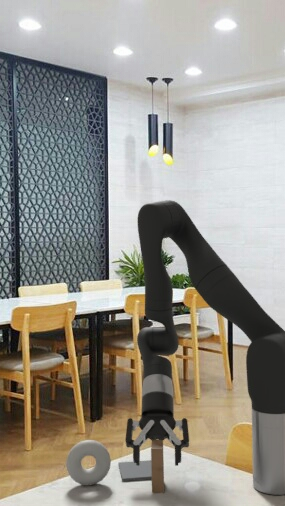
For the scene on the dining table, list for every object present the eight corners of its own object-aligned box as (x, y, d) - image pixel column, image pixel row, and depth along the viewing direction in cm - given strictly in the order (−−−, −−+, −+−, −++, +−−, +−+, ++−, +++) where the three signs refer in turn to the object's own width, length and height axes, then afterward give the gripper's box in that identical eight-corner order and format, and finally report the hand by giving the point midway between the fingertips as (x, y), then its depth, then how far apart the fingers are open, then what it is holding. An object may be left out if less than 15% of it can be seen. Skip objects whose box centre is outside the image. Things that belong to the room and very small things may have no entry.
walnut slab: (152, 481, 137) (151, 439, 137) (163, 481, 137) (163, 439, 137) (151, 492, 131) (151, 449, 131) (163, 492, 131) (162, 448, 131)
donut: (110, 480, 138) (109, 436, 138) (112, 486, 135) (111, 441, 135) (66, 483, 137) (65, 439, 137) (66, 489, 134) (65, 444, 133)
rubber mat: (155, 462, 148) (155, 460, 148) (161, 478, 139) (161, 475, 139) (118, 465, 147) (118, 462, 147) (122, 481, 137) (122, 478, 137)
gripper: (126, 390, 142) (123, 456, 131) (187, 389, 141) (190, 456, 130) (128, 406, 147) (126, 471, 136) (187, 406, 147) (189, 471, 136)
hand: (157, 464), depth 133 cm, fingers open, 8 cm apart
